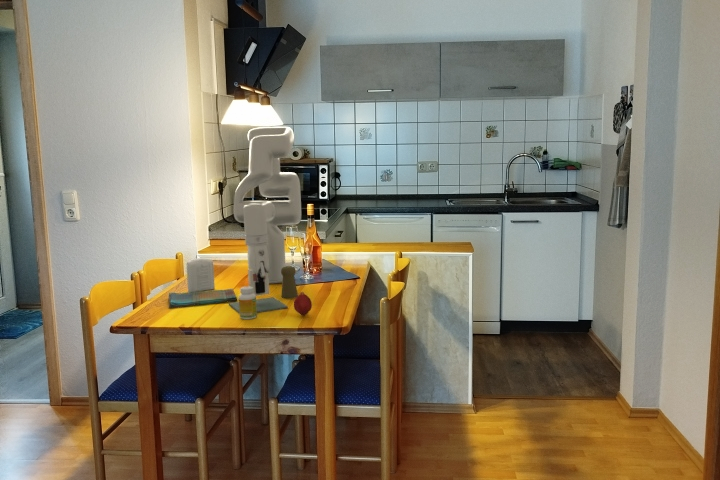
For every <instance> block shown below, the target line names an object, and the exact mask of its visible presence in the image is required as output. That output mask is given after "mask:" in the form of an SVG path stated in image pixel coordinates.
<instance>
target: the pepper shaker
mask: <svg viewBox="0 0 720 480" xmlns="http://www.w3.org/2000/svg"><path fill="white" fill-rule="evenodd" d="M295 269H296V268H295V267H294V266H292V265H287V266H285V267H283V268H282V269H281V274H282V276H283V281H282V284H281V297H280V298H281V299H284V300H285V299H286V300H287V299H288V300H290V299H296V297H297V296H298V295H299V293H298V290H297V283H296V278H295V275H296V274H297V273H296V270H295ZM295 273H296V274H295Z"/></svg>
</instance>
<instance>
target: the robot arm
mask: <svg viewBox="0 0 720 480" xmlns="http://www.w3.org/2000/svg"><path fill="white" fill-rule="evenodd" d="M294 134H295V133H294V131H293V129H292V128H291V127H289V126H272V127H271V126H265V127H264V126H263V127H262V126H261V127H255V128H252V129H249V131H248V133H247V140H248V144H249V154H248V174H247V175H246V176H245V177H244V178H243V179H242V180H241V181H240V182H239V184H238V186H237V188H236V189H235V192H234V196H233V197H234V199H233V217H234V219H235V220H236V221H237V222H239V223H243V224H244V225H243V226H244V227H243V228H244V242H245V244H244V245H245V246H247V265H248V270H253V272H254V273H256V282H255V288H256V294H260V293H265V272H266V273H268V278H269V285H270V284H273V285H274V284H281V283H282V281H283V276H282V274H281V269H282V268H283V267H285V266H286V265H287V264H286V263H287V262H286V247H285V234H284V233H283V231H282V230H281V229H280V228H279V227H278V226H291V225H292V226H293V225H298V224H300V222H301V221H302V201H301V199H302V198H301V197H302V196H301V183H300V182H301V181H300V178H299V176H298V174H297V173H295V172H289V171H288V172H282V171H281V160H280V159H286V158H288V157H289V156H290V154H291V152H292V150H293V147H294V142H295V136H294ZM256 187H258V191H259V193H260V195H261V196H262V197H265V198H288V200H244V199H245V196H246V195H247V194H248V192H250V191H251V190H253V189H255V188H256ZM264 269H265V270H264ZM295 270H296V273H295V275H296V274H298V273H299V270H298V268H295ZM259 272H260V273H259ZM258 275H259V276H258Z"/></svg>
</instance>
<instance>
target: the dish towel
mask: <svg viewBox="0 0 720 480" xmlns="http://www.w3.org/2000/svg"><path fill="white" fill-rule="evenodd" d="M168 298H169V299H168V300H169V301H168V302H169V303H170V304H169V305H168V308H169V309H178V307H179V308H187V307H193V306H194V307H195V306H203V305H213V304H215V305H216V304H223V303H225V304H226V303H235V302H238V296H237V295H236V294H235V291H234V288H227V289H217V290H216V289H211V290H204V291H197V292H169V293H168Z"/></svg>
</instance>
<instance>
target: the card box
mask: <svg viewBox="0 0 720 480" xmlns="http://www.w3.org/2000/svg"><path fill="white" fill-rule="evenodd" d="M264 270H265V269H264ZM259 273H260V272H259ZM258 276H259V275H258ZM247 277H248V287H253V294H255V296H256V297H257V296H263V295H264V296H265V295H270V284H269V278H268V273H266V272H265V293H260V294H256V288H255V282H256V273H254V272H253V270H249V269H248V270H247Z"/></svg>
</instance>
